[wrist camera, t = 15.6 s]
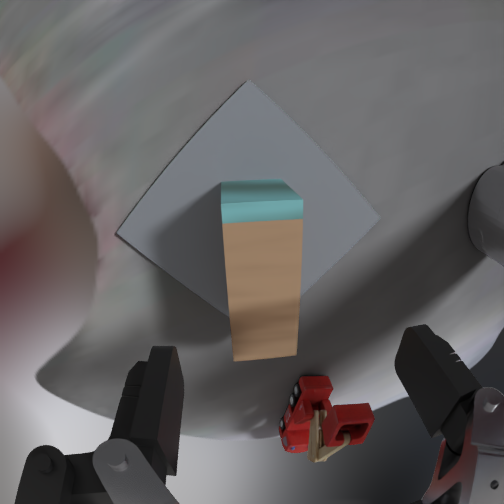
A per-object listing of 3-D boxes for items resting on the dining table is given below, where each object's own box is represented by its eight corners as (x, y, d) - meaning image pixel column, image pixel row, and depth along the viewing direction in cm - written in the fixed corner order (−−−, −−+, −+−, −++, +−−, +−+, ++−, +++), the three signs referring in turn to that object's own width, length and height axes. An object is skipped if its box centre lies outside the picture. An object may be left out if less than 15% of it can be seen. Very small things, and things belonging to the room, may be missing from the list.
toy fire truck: (275, 427, 32) (288, 496, 23) (309, 344, 27) (340, 428, 18) (302, 427, 32) (319, 492, 24) (341, 345, 27) (379, 423, 19)
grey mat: (248, 80, 18) (248, 79, 17) (378, 216, 22) (380, 217, 22) (118, 231, 21) (116, 232, 21) (255, 333, 26) (256, 336, 25)
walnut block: (296, 355, 19) (303, 199, 15) (233, 361, 18) (221, 203, 14) (280, 305, 24) (280, 178, 20) (230, 309, 24) (221, 181, 20)
